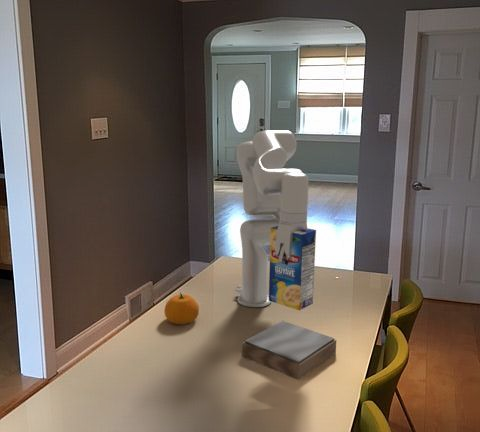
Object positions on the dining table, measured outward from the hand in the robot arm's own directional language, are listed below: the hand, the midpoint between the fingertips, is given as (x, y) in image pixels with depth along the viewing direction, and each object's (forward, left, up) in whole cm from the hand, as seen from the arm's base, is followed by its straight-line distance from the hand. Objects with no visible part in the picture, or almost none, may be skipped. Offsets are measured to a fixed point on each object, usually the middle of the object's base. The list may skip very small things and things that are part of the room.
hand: (291, 278), depth 148 cm
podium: (0, 0, -24) cm, 24 cm away
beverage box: (0, 0, -7) cm, 7 cm away
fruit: (-42, -4, -24) cm, 48 cm away
